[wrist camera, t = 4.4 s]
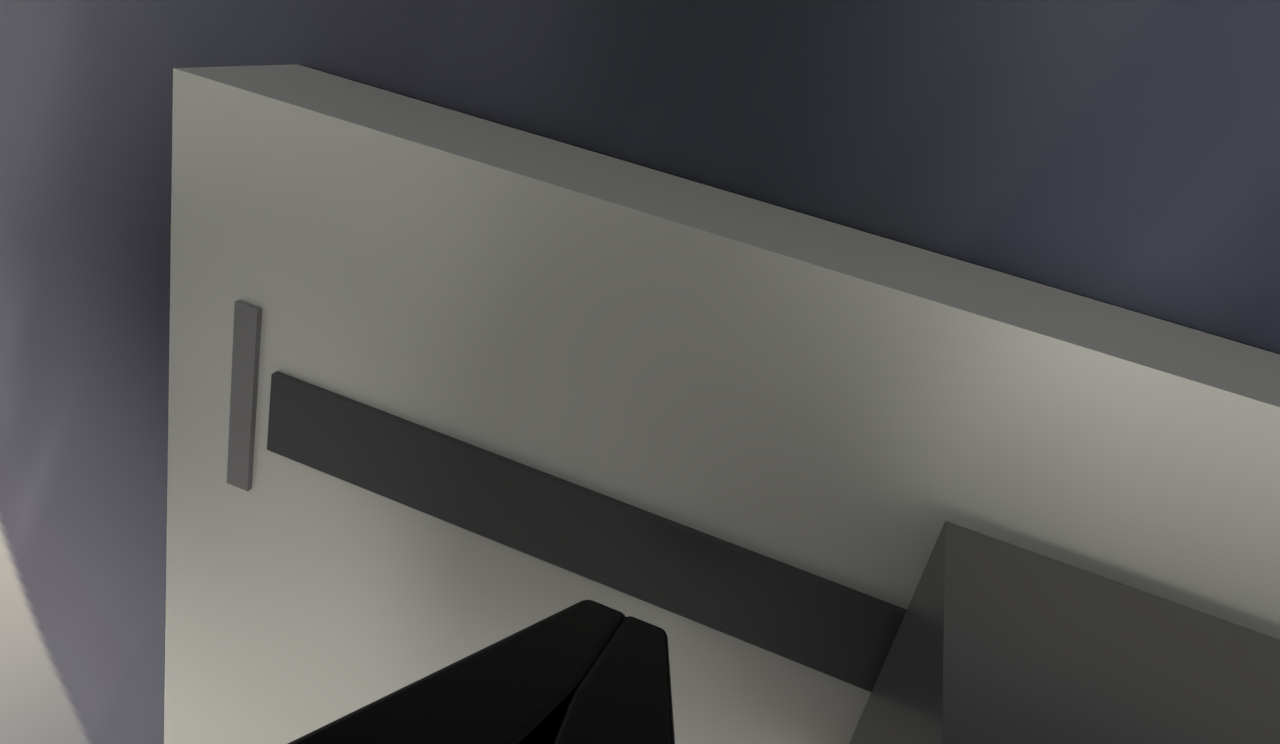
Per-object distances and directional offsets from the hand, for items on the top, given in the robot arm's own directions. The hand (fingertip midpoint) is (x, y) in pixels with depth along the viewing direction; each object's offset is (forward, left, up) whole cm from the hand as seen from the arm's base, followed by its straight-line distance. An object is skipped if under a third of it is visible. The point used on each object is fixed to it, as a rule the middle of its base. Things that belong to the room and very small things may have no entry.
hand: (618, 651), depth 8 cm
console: (-4, -1, -3) cm, 6 cm away
